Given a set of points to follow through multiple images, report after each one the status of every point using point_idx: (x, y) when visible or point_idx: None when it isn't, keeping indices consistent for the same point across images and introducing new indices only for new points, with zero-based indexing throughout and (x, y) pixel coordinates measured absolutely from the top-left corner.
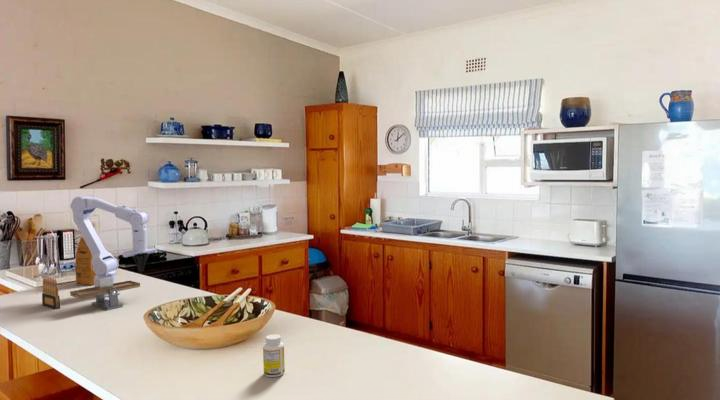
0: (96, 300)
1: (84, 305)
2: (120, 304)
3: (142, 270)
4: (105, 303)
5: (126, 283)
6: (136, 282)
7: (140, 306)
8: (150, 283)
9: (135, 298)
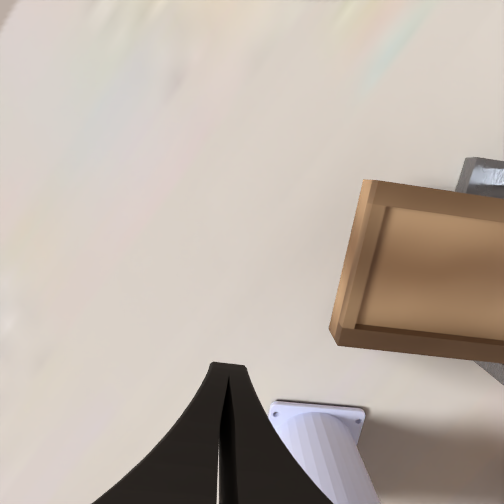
0: None
1: None
2: (483, 165)
3: (228, 369)
4: None
5: (388, 314)
6: (373, 231)
7: (424, 57)
8: (43, 455)
9: (300, 254)
